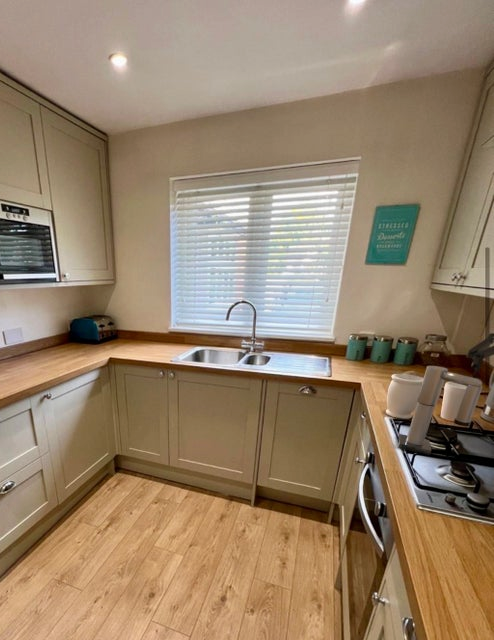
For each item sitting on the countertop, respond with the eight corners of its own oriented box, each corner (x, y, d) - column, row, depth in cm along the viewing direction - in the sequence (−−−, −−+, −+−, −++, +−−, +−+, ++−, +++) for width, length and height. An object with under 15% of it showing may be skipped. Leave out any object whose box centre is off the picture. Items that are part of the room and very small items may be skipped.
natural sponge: (419, 391, 154) (425, 370, 150) (420, 396, 147) (426, 375, 143) (397, 387, 159) (402, 367, 155) (396, 392, 152) (402, 371, 148)
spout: (473, 425, 89) (491, 378, 84) (462, 427, 87) (479, 380, 82) (421, 406, 101) (434, 365, 96) (410, 408, 99) (423, 366, 95)
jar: (385, 417, 123) (395, 379, 118) (379, 408, 132) (389, 372, 127) (418, 422, 120) (430, 383, 114) (410, 412, 129) (420, 375, 124)
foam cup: (439, 411, 130) (450, 380, 126) (469, 419, 124) (481, 386, 119) (432, 417, 124) (442, 384, 120) (462, 425, 118) (475, 391, 113)
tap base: (427, 444, 104) (441, 402, 99) (429, 455, 97) (444, 410, 92) (398, 437, 107) (410, 397, 102) (398, 447, 101) (410, 404, 96)
